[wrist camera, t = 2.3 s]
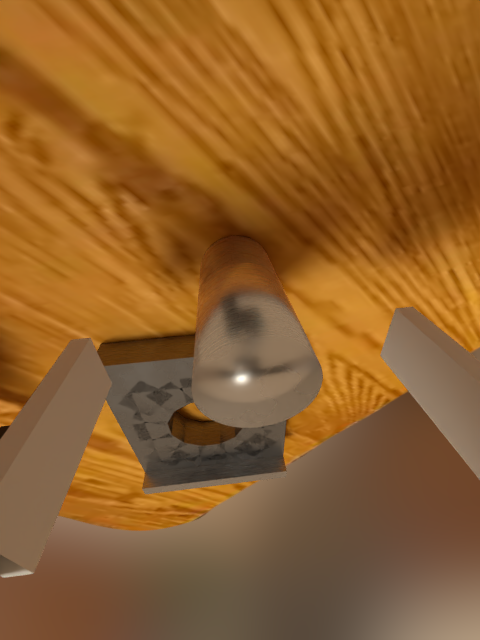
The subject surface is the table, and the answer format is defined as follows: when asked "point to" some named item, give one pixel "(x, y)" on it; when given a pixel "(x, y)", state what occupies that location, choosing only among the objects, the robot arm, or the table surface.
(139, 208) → the table surface
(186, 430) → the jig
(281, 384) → the brushed metal cylinder
